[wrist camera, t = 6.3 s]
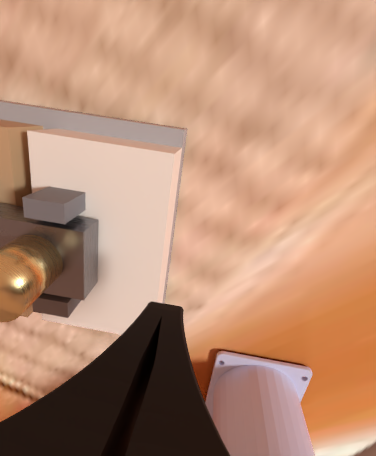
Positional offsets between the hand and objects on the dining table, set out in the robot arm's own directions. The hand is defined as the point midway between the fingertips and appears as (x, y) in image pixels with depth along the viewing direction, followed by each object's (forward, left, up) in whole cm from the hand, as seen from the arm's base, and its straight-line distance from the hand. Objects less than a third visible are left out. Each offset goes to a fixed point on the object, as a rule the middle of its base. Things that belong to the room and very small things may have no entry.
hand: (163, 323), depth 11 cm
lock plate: (0, +9, -9) cm, 13 cm away
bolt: (0, +9, -5) cm, 10 cm away
